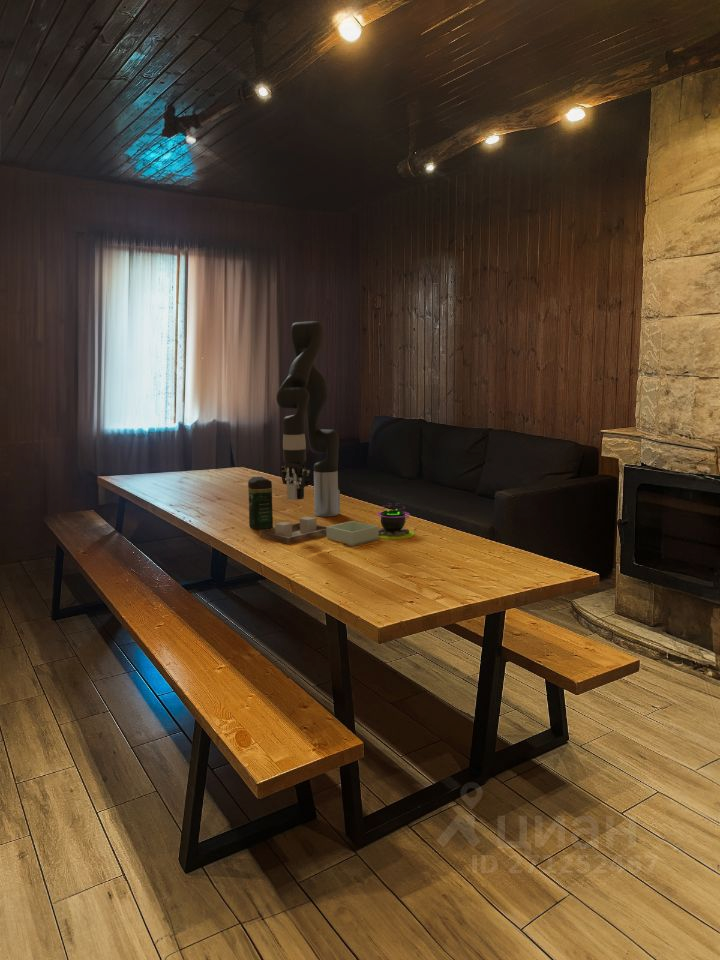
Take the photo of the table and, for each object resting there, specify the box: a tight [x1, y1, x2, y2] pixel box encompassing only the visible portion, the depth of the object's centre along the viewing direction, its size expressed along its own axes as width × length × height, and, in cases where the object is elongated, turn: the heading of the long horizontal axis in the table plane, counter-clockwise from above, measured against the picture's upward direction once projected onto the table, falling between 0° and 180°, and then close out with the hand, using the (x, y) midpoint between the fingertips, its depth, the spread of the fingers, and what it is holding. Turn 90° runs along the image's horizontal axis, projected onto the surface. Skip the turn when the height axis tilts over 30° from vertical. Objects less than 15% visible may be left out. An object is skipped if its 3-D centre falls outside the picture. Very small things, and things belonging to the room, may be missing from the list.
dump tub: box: [326, 520, 380, 547], centre depth 235 cm, size 12×12×5 cm
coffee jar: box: [247, 476, 274, 531], centre depth 251 cm, size 10×8×19 cm
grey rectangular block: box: [299, 516, 317, 534], centre depth 243 cm, size 4×4×5 cm
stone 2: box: [286, 481, 305, 501], centre depth 237 cm, size 4×4×5 cm
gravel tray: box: [259, 522, 327, 545], centre depth 239 cm, size 19×14×3 cm
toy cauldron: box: [376, 504, 415, 540], centre depth 242 cm, size 15×15×11 cm
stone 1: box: [274, 521, 293, 537], centre depth 235 cm, size 4×4×5 cm
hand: (295, 497), depth 237 cm, fingers closed on stone 2, 4 cm apart
